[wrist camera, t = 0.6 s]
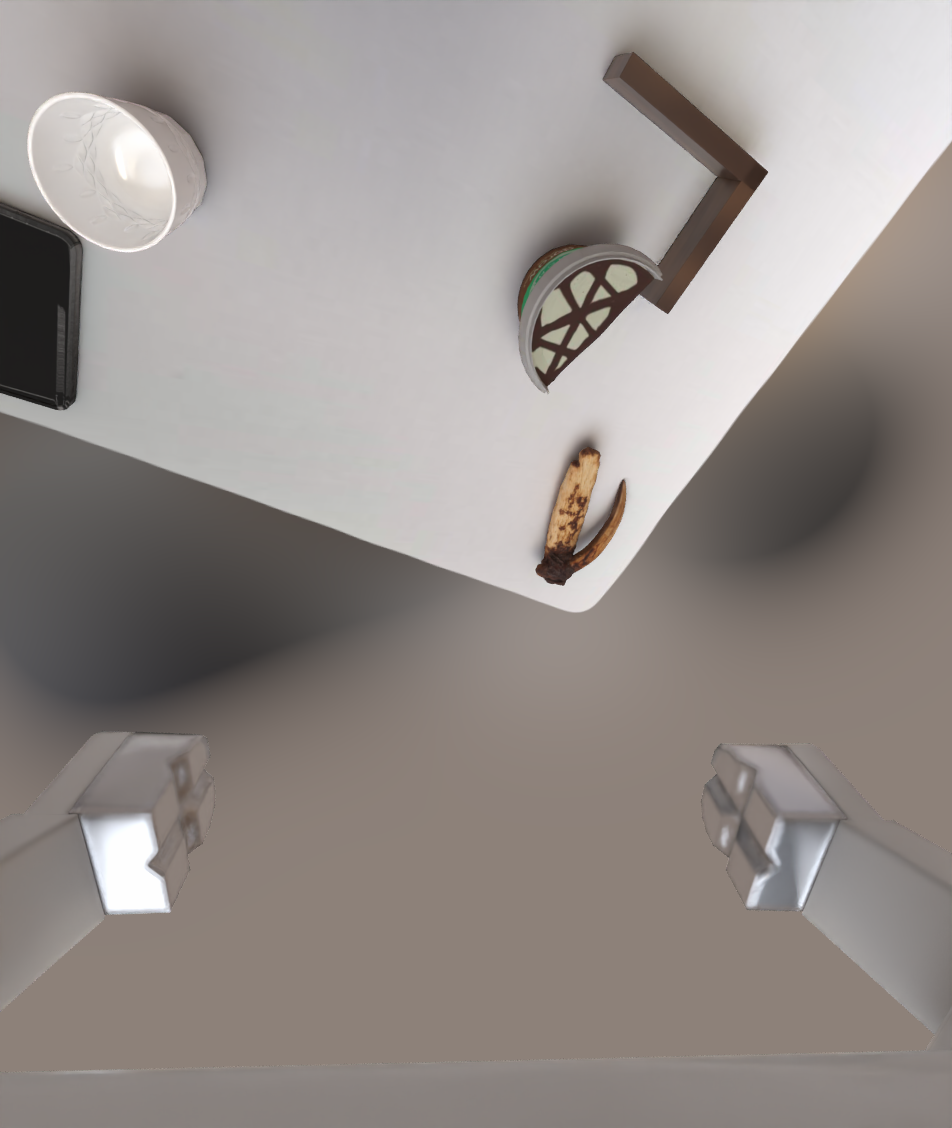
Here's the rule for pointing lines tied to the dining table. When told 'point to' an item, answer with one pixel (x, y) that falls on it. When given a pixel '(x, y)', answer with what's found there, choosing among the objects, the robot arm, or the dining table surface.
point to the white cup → (114, 169)
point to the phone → (38, 309)
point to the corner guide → (709, 148)
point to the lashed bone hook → (577, 521)
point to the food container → (575, 302)
